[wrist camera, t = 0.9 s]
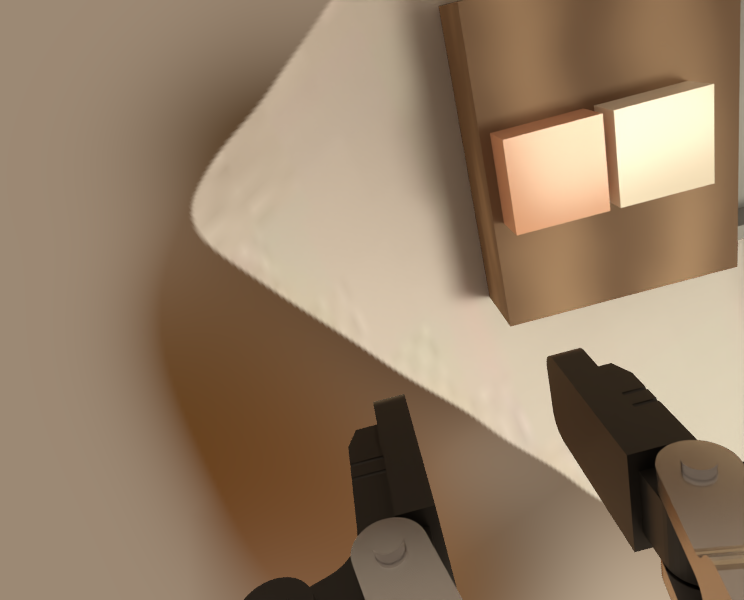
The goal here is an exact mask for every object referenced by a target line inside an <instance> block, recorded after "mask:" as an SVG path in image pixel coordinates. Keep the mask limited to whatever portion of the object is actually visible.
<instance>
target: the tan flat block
mask: <svg viewBox="0 0 744 600" xmlns="http://www.w3.org/2000/svg"><path fill="white" fill-rule="evenodd" d="M439 11H440V17H441V22H442V28H443V34H444V39H445V45H446V51H447V56H448V62H449V68H450V74H451V79H452V85H453V91H454V96H455V102H456V108H457V113H458V119H459V125H460V130H461V136H462V142H463V148H464V153H465V159H466V165H467V170H468V176H469V182H470V187H471V193H472V199H473V204H474V210H475V216H476V222H477V227H478V233H479V239H480V244H481V250H482V256H483V261H484V267H485V273H486V278H487V284H488V290H489V296H490V298H491V299H492V301H493V302H494V304H495V305H496V306H497V308H498V309H499V311H500V312H501V314H502V315H503V316H504V318H505V319H506V321H507V322H508V323H509V325H510V326H514V325H518V324H521V323H525V322H529V321H533V320H537V319H540V318H544V317H548V316H552V315H555V314H559V313H563V312H567V311H571V310H574V309H578V308H582V307H586V306H590V305H593V304H597V303H601V302H605V301H609V300H612V299H616V298H620V297H624V296H627V295H631V294H635V293H639V292H643V291H646V290H650V289H654V288H658V287H662V286H665V285H669V284H673V283H677V282H681V281H684V280H688V279H692V278H696V277H699V276H703V275H707V274H711V273H715V272H718V271H722V270H726V269H730V268H734V267H737V251H738V172H739V92H740V12H741V0H461V1H457V2H453V3H449V4H446V5H442V6H439ZM685 81H694V82H702V83H711V84H714V172H715V183H714V184H710V185H706V186H703V187H699V188H695V189H691V190H687V191H684V192H680V193H676V194H672V195H668V196H665V197H661V198H657V199H653V200H650V201H646V202H642V203H638V204H634V205H631V206H627V207H623V208H620V207H618V206H616V205H614V204H612V203H611V202H610V211H608V212H604V213H600V214H597V215H593V216H589V217H585V218H581V219H578V220H574V221H570V222H566V223H563V224H559V225H555V226H551V227H547V228H544V229H540V230H536V231H532V232H529V233H525V234H521V235H516V234H515V233H514V232H512V231H511V230H510V229H509V228H508V227H507V226H506V225H505V224H504V221H503V214H502V208H501V201H500V195H499V189H498V182H497V176H496V169H495V163H494V157H493V150H492V144H491V137H490V133H493V132H496V131H500V130H504V129H508V128H511V127H515V126H519V125H523V124H527V123H530V122H534V121H538V120H542V119H545V118H549V117H553V116H557V115H560V114H564V113H568V112H572V111H576V110H579V109H583V108H584V109H588V110H592V111H594V105H598V104H602V103H606V102H610V101H613V100H617V99H621V98H625V97H628V96H632V95H636V94H640V93H643V92H647V91H651V90H655V89H659V88H662V87H666V86H670V85H674V84H677V83H681V82H685Z"/></svg>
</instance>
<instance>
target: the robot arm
mask: <svg viewBox="0 0 744 600" xmlns="http://www.w3.org/2000/svg"><path fill="white" fill-rule="evenodd" d="M547 370H548V377H549V384H550V392H551V399H552V406H553V413H554V417H555V421H556V425H557V427H558V430H559V433H560V435H561V437H562V439H563V441H564V442H565V444H566V445H567V447H568V449H569V450H570V452H571V453H572V455H573V456H574V458H575V460H576V461H577V463H578V464H579V466H580V467H581V469H582V470H583V472H584V474H585V475H586V477H587V478H588V480H589V481H590V483H591V485H592V486H593V488H594V489H595V491H596V492H597V494H598V495H599V497H600V499H601V500H602V502H603V503H604V505H605V506H606V508H607V510H608V511H609V513H610V514H611V515H612V517H613V519H614V520H615V522H616V524H617V525H618V527H619V528H620V530H621V531H622V533H623V534H624V536H625V538H626V539H627V541H628V542H629V544H630V545H631V547H632V549H633V550H634V552H637V551H641V550H644V549H648V548H652V547H653V548H654V549H655V551H656V552H657V554H658V555H659V557H660V558H661V571H662V578H663V581H664V584H665V586H666V589H667V591H668V594H669V596H670V599H671V600H744V462H742V461H741V459H740V458H739V457H738V456H737V455H736V454H735V453H734V452H732V451H730V450H729V449H727V448H725V447H723V446H721V445H718V444H715V443H712V442H708V441H701V440H697V439H696V438H695V437H694V436H693V435H692V434H691V433H690V432H689V431H688V430H687V429H686V428H685V427H684V426H683V425H682V424H681V423H680V422H679V421H678V420H677V419H676V418H675V417H674V416H673V415H672V414H671V412H670V411H669V410H668V409H667V408H666V407H665V406H664V405H663V404H662V403H661V402H660V401H657V399H656V397H655V396H654V395H653V394H652V393H651V392H650V391H649V390H648V389H647V390H646V388H645V386H644V385H643V384H642V383H641V382H640V381H639V380H638V379H637V377H636V376H635V375H634V374H633V373H631V372H629V371H627V370H625V369H623V368H620V367H618V366H616V365H614V364H612V363H610V364H606V365H602V366H597V365H596V363H595V362H594V361H593V360H592V359H591V358H590V357H589V356H588V354H587V353H586V352H585V351H584V350H583V349H581V348H578V349H574V350H570V351H567V352H563V353H559V354H555V355H552V356H548V357H547ZM374 409H375V415H376V420H377V425H374V426H370V427H366V428H363V429H359V430H356V431H355V434H354V436H353V438H352V440H351V443H350V445H349V457H350V465H351V476H352V485H353V495H354V503H355V513H356V523H357V535H358V536H357V538H356V540H355V541H354V544H353V547H352V550H351V556H350V557H349V559H348V560H347V561H346V562H345V564H344V565H343V566H342V567H341V568H339V569H338V570H337V571H336V572H334V573H333V574H331V575H330V576H328V577H326V578H325V579H323V580H321V581H319V582H318V583H316V584H314V585H312V586H311V587H309V586H308V585H307V584H306V583H304V582H303V581H301V580H299V579H296V578H291V577H283V578H277V579H273V580H270V581H268V582H266V583H264V584H262V585H261V586H258V587H257V588H256V589H254V590H253V591H252V592H251V593H250V594H249V595H248V596H247V597H246V598H245V599H244V600H462V598H461V596H460V594H459V592H458V590H457V588H456V584H455V580H454V577H453V573H452V569H451V565H450V561H449V557H448V554H447V549H446V545H445V542H444V538H443V534H442V530H441V527H440V523H439V518H438V515H437V511H436V507H435V503H434V500H433V496H432V493H431V489H430V485H429V482H428V478H427V474H426V471H425V467H424V464H423V460H422V457H421V453H420V450H419V446H418V442H417V439H416V435H415V431H414V428H413V424H412V421H411V417H410V413H409V410H408V406H407V403H406V399H405V395H404V394H403V395H399V396H395V397H391V398H388V399H384V400H380V401H376V402H374Z"/></svg>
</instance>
